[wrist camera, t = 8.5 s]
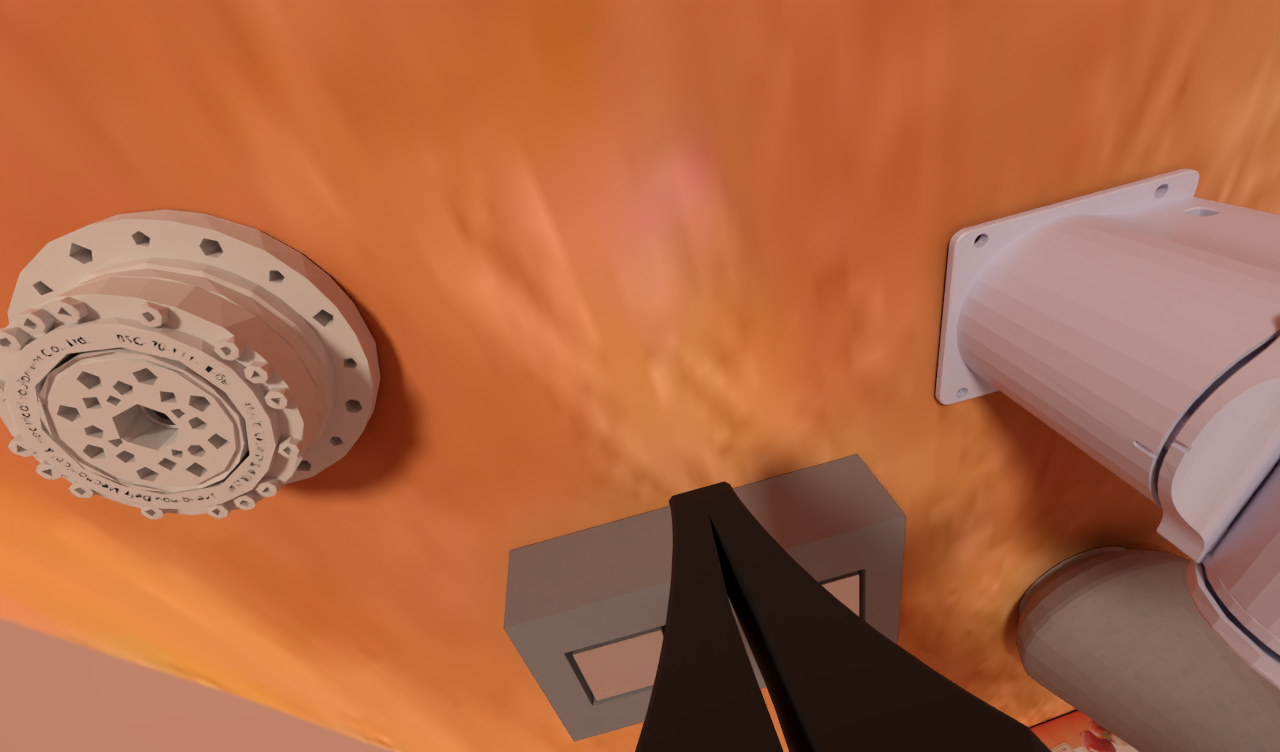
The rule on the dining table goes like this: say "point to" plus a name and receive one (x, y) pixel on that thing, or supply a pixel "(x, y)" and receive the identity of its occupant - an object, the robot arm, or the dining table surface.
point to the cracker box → (1079, 735)
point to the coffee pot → (1143, 656)
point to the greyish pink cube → (621, 663)
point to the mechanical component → (182, 364)
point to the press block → (641, 576)
